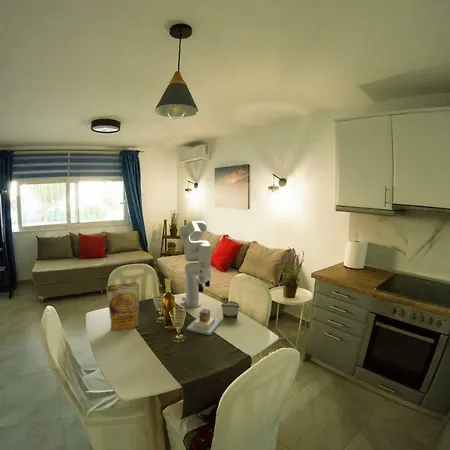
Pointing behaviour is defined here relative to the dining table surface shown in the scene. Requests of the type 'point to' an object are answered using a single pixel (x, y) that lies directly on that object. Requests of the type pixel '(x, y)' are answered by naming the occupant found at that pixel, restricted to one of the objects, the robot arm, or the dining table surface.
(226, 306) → the food container
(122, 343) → the dining table surface
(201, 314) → the walnut block
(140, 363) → the dining table surface
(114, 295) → the pancake mix bag
